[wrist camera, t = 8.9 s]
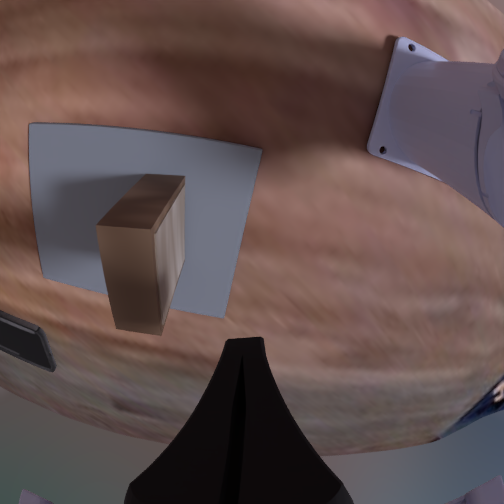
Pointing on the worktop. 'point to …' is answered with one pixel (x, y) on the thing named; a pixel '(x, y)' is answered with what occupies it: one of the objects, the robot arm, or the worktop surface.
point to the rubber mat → (120, 182)
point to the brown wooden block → (144, 252)
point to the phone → (25, 342)
